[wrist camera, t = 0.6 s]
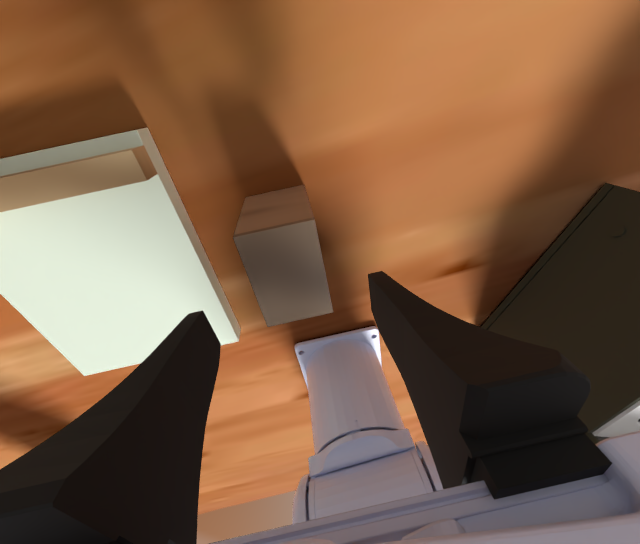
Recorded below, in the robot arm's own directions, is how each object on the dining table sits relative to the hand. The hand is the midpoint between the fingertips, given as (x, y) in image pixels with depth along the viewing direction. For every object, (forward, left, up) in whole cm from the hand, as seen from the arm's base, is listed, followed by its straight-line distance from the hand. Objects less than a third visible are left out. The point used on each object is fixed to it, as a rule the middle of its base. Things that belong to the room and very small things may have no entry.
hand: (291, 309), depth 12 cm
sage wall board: (0, +13, -9) cm, 16 cm away
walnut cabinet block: (0, 0, -9) cm, 9 cm away
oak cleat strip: (+6, +13, -8) cm, 16 cm away
